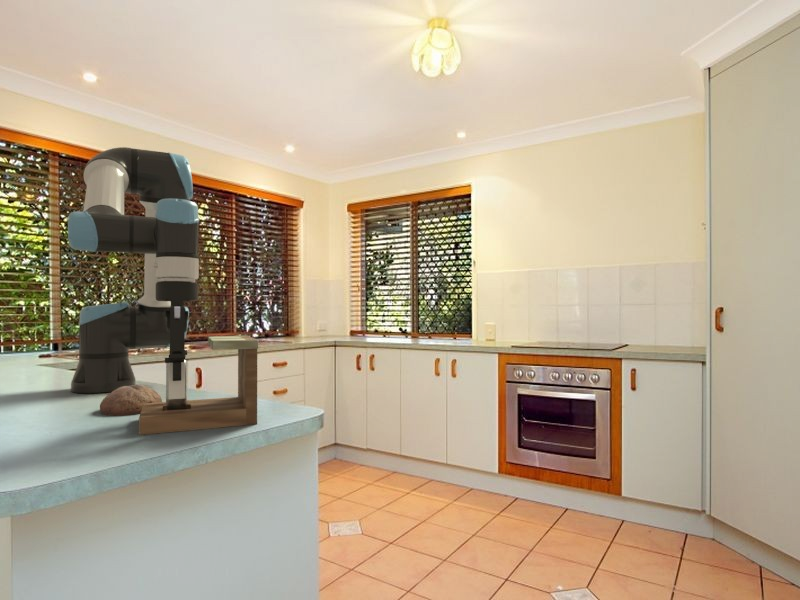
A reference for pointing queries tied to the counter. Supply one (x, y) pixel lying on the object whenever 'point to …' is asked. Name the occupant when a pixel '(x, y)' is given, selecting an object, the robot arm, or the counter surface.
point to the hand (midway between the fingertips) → (176, 393)
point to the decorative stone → (128, 400)
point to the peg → (175, 403)
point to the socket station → (212, 410)
